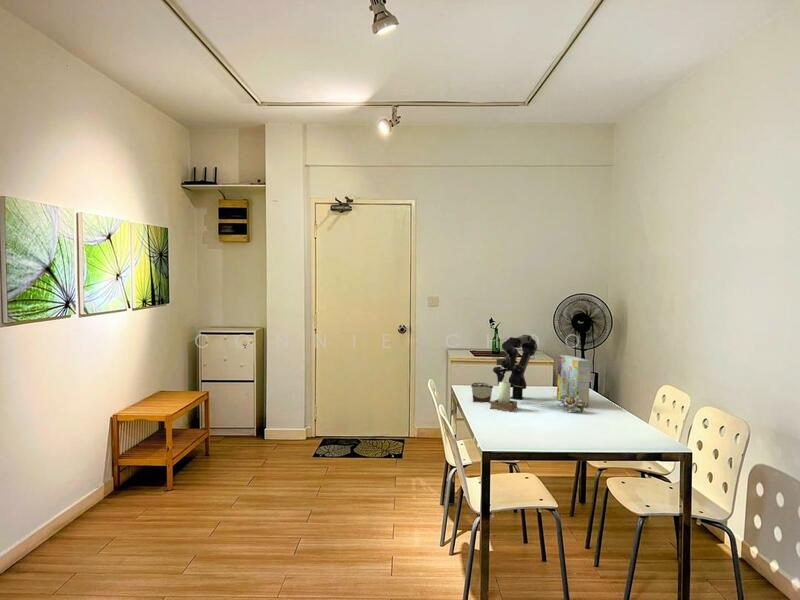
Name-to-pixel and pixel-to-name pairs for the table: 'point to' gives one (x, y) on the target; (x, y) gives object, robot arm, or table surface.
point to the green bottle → (504, 392)
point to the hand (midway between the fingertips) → (505, 384)
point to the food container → (481, 392)
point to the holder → (504, 405)
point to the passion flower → (571, 402)
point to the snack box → (574, 378)
